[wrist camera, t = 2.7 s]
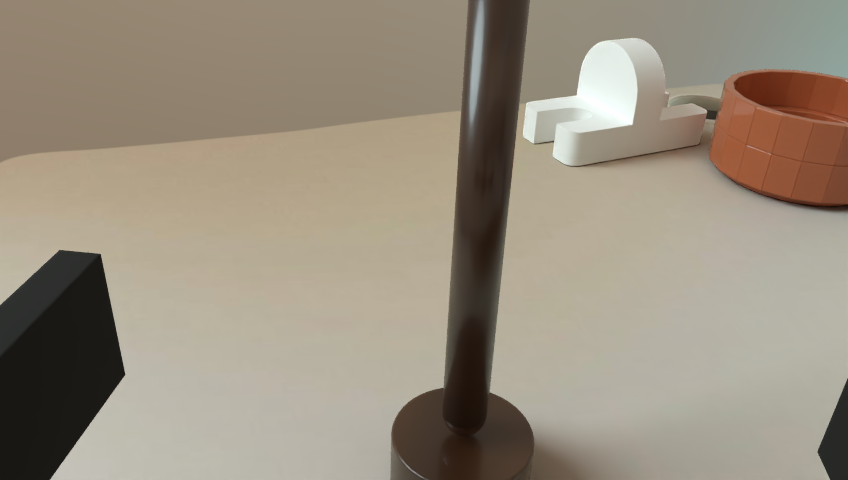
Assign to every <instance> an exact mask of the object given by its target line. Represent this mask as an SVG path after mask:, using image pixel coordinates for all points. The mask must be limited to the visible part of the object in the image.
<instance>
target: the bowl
mask: <svg viewBox="0 0 848 480" xmlns="http://www.w3.org/2000/svg"><path fill="white" fill-rule="evenodd" d="M709 159H710V160H711V161H712V163H713V164H714V165H715V166H716V167H717V168H718V169H719V170H720V171H721V172H723V173H724V174H725V175H726V176H728V177H729V178H730V179H732V180H733V181H735V182H736V183H738V184H740V185H742V186H743V187H746V188H748V189H750V190H752V191H755V192H758V193H760V194H763V195H766V196H769V197H773V198H776V199H780V200H784V201H789V202H794V203H800V204H807V205H816V206H843V205H848V79H847V78H843V77H838V76H832V75H827V74H822V73H815V72H806V71H797V70H777V69H764V70H751V71H745V72H741V73H737V74H734V75H732V76H730V77H729V78H728V79H727V80H726V81H725V83H724V87H723V91H722V95H721V99H720V103H719V108H718V112H717V117H716V120H715V124H714V128H713V133H712V137H711V141H710V145H709Z"/></svg>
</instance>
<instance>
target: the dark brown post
mask: <svg viewBox="0 0 848 480" xmlns="http://www.w3.org/2000/svg"><path fill="white" fill-rule="evenodd" d="M529 3H530V0H468V16H467V31H466V46H465V62H464V77H463V94H462V109H461V124H460V140H459V155H458V171H457V187H456V203H455V218H454V234H453V250H452V265H451V281H450V297H449V313H448V328H447V344H446V360H445V376H444V388H440V389H435V390H432V391H428V392H426V393H423V394H421V395H419V396H417V397H415V398H414V399H412V400H411V401H410V402H408V403H407V404H406V405H405V406H404V407H403V408H402V409H401V411H400V412H399V413H398V415H397V417H396V418H395V421H394V423H393V426H392V432H391V480H529V478H530V472H531V465H532V458H533V452H534V437H533V432H532V430H531V427H530V425H529V423H528V421H527V420H526V418H525V417H524V415H523V414H522V413H521V412H520V411H519V410H518V409H517V408H516V407H515V406H514V405H512V404H511V403H510V402H508V401H506V400H505V399H503V398H501V397H499V396H497V395H495V394H492V393H490V392H489V391H490V381H491V371H492V362H493V352H494V342H495V333H496V323H497V313H498V304H499V294H500V284H501V275H502V265H503V255H504V246H505V236H506V226H507V217H508V207H509V197H510V188H511V178H512V168H513V159H514V149H515V139H516V130H517V120H518V110H519V101H520V91H521V81H522V71H523V62H524V52H525V42H526V33H527V23H528V13H529Z"/></svg>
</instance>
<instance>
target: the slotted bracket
mask: <svg viewBox="0 0 848 480" xmlns="http://www.w3.org/2000/svg"><path fill="white" fill-rule="evenodd" d="M665 87H666V85H665V73H664V69H663V66H662V62H661V60H660V58H659V56H658V54H657V52H656V51H655V50H654V49H653V47H652V46H651V45H650V44H649V43H647V42H645V41H644V40H642V39H637V38H629V39H619V40H609V41H604V42H599V43H597V44H596V45H595V46H593V47H592V48H591V49H590V51H589V52H588V53H587V55H586V57H585V59H584V61H583V64H582V67H581V72H580V77H579V84H578V91H577V96H570V97H562V98H555V99H548V100H541V101H532V102H528V103H527V104H526V112H525V121H524V130H523V137H524V138H525V139H527V140H528V141H530V142H531V143H533V144H536V143H542V142H548V141H554V148H553V157H554V158H556V159H557V160H559V161H560V162H562V163H563V164H566V165H569V166H581V165H586V164H592V163H598V162H603V161H609V160H614V159H620V158H626V157H631V156H637V155H643V154H648V153H654V152H659V151H665V150H671V149H676V148H682V147H687V146H693V145H698V144H699V143H700V140H701V135H702V131H703V127H704V123H705V118H706V114H707V110H705V109H704V108H701V107H699V106H697V105H695V104H692V103H691V104H685V105H678V106H671V107H667V105H668V100H669V95H670V93H668V92H666V91H665Z"/></svg>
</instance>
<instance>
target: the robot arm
mask: <svg viewBox="0 0 848 480" xmlns="http://www.w3.org/2000/svg"><path fill="white" fill-rule="evenodd" d="M124 376H125V371H124V366H123V361H122V356H121V352H120V347H119V342H118V337H117V332H116V327H115V322H114V317H113V312H112V307H111V302H110V298H109V293H108V288H107V283H106V278H105V273H104V268H103V263H102V258H101V254H95V253H85V252H74V251H64V250H59V251H58V252H57V253H56V254H55V255H54V256H53V257H52V258H51V259H50V260H48V261H47V262H46V263H45V264H44V265H43V266H42V267H41V268H40V269H39V270H38V271H37V272H36V273H34V274H33V275H32V276H31V277H30V278H29V279H28V280H27V281H26V282H25V283H24V284H23V285H22V286H20V287H19V288H18V289H17V290H16V291H15V292H14V293H13V294H12V295H11V296H10V297H9V298H8V299H7V300H5V301H4V302H3V303H2V304H1V305H0V480H50V479H51V477H52V476H53V474H54V473H55V472H56V470H57V469H58V468H59V466H60V465H61V463H62V462H63V461H64V459H65V458H66V456H67V455H68V454H69V452H70V451H71V449H72V448H73V447H74V445H75V444H76V442H77V441H78V440H79V438H80V437H81V435H82V434H83V433H84V431H85V430H86V429H87V427H88V426H89V424H90V423H91V422H92V420H93V419H94V417H95V416H96V415H97V413H98V412H99V410H100V409H101V408H102V406H103V405H104V403H105V402H106V401H107V399H108V398H109V396H110V395H111V394H112V392H113V391H114V390H115V388H116V387H117V385H118V384H119V383H120V381H121V380H122V378H123V377H124ZM818 454H819V456H820V458H821V460H822V463H823V465H824V467H825V469H826V471H827V473H828V476H829V478H830V480H848V379H847V381H846V384H845V386H844V389H843V391H842V394H841V396H840V398H839V401H838V403H837V406H836V408H835V411H834V413H833V415H832V418H831V420H830V423H829V425H828V428H827V430H826V432H825V435H824V437H823V440H822V442H821V444H820V447H819V449H818Z"/></svg>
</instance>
